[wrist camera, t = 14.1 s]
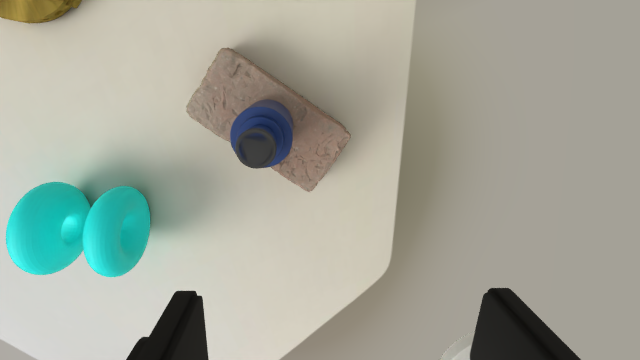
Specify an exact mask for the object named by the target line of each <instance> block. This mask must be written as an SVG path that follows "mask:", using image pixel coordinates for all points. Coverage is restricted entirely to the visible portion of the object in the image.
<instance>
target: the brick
mask: <svg viewBox="0 0 640 360" xmlns="http://www.w3.org/2000/svg"><path fill="white" fill-rule="evenodd" d="M267 99H268V100H274V101H277V102H279V103H281V104H282V105H284V106H285V107H286V108H287V109H288V111H289V112H290V114H291V116H292V119H293V141H292V147H291V149H290V152H289V153H288V155H287V156H286V158H285V159H284V160H282V161H281V162H280V163H278V164H276V165H274V166H271V167H272V168H273V169H274V170H275V171H278V172H279V173H280V174H281V175H282V176H284V177H285V178H287V179H288V180H290V181H291V182H293V183H295V184H296V185H298V186H300V187H301V188H302V189H304V190H306V191H308V192H310V191H312V190H313V189H314V188H315V186H316V185H317V183H318V181H320V180H321V179H322V178H323V177H324V175H325V174H326V173H327V171H328V170H329V169H330V167H331V166H332V164H333V163H334V161H335V160H336V158H337V157H338V156H339V154H340V153H341V151H342V150H343V148H344V147H345V145H346V144H347V142H348V140H349V139H350V137H351V135H350V134H349V132H348V131H347V130H346V128H345V127H344V126H343V125H342V124H340V123H339V122H337V121H335V120H334V119H333V118H332V117H330V116H329V115H327V114H325V113H324V112H322V111H321V110H320V109H319V108H318V107H316V106H314V105H313V104H311V103H310V102H309V101H308V100H306V99H304V98H303V97H302V96H300V95H298V94H297V93H296V92H294V91H292V90H291V89H290V88H288V87H287V86H286V85H284V84H283V83H281V82H280V81H278V80H277V79H276V78H274V77H273V76H271V75H269V74H268V73H266V72H265V71H264V70H262V69H261V68H259V67H258V66H256V65H255V64H254V63H252V62H251V61H250V60H248V59H247V58H245V57H243V56H242V55H240V54H239V53H237V52H235V51H234V50H232V49H230V48H222V49H221V50H220V51H219V52H218V54H217V56H216V58H215V60H214V61H213V63H212V65H211V66H210V67H209V68H208V70H207V75H206V76H205V77H204V78H203V80H202V83H201V85H200V87H199V88H198V89H197V90H196V91H195V93H194V95H193V96H192V98H191V99H190V101H189V103H188V105H187V110H186V112H187V113H188V114H189V116H190V117H191V118H192V119H194V120H195V121H197V122H199V123H200V124H202V125H203V126H204V127H205V128H207V129H209V130H210V131H212V132H213V133H215V134H216V135H218V136H219V137H221V138H223V139H225V140H227V141H229V142H231V141H230V131H231V127H232V124H233V122H234V120H235V119H236V117H237V116H238V115H239V114H240V113H241V112H243V111H244V110H245V109H247V108H248V107H249V106H251V105H252V104H254V103H255V102H257V101H260V100H267Z"/></svg>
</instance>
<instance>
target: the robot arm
mask: <svg viewBox="0 0 640 360" xmlns="http://www.w3.org/2000/svg"><path fill="white" fill-rule="evenodd" d="M126 360H208V351H207V340H206V330H205V320H204V309H203V299H202V296H197V293H196V291H176V292H175V293H174V295H173V297H172V298H171V300H170V302H169V304H168V305H167V307H166V309H165V310H164V312H163V314H162V316H161V317H160V319H159V321H158V322H157V324H156V326H155V328H154V329H153V331H152V333H151V334H150V336H149V337H142V338H141V339H139V341H138V342H137V343H136V345H135V346H134V348H133V350H132V351H131V353H130V354H129V356H128V358H127V359H126ZM470 360H580V358H579V357H578V356H577V355H576V354H575V353H574V352H573V351H572V350H571V349H570V348H569V347H568V346H567V345H566V344H565V343H564V342H562V340H561V339H560V338H559V337H558V336H557V335H556V334H555V333H554V332H553V331H552V330H551V329H550V328H549V327H548V326H546V324H545V323H544V322H542V320H541V319H540V318H539V317H538V316H537V315H536V314H535V313H534V312H533V311H532V310H531V309H530V308H529V307H528V306H527V305H526V304H525V303H524V302H523V301H522V300H521V299H520V298H519V297H518V296H517V295H516V294H515V293H514V292H513V291H512V290H510V289H509V288H491V289H489V290H488V292H487V293H485V294H484V296H483V299H482V304H481V308H480V312H479V316H478V321H477V325H476V330H475V333H474V338H473V342H472V346H471V351H470Z"/></svg>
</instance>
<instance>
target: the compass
mask: <svg viewBox="0 0 640 360" xmlns="http://www.w3.org/2000/svg"><path fill="white" fill-rule="evenodd" d="M81 1H82V0H0V17H1V18H5V19H9V20H14V21H19V22H25V23H43V22H48V21H51V20H54V19H56V18H58V17H60V16H62V15H63V14H64V13H66V12H67V11H68V10H69V9H70V8H71V7H73V8H77V7H78V6H79V4H80V3H81Z"/></svg>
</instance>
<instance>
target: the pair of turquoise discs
mask: <svg viewBox="0 0 640 360" xmlns="http://www.w3.org/2000/svg"><path fill="white" fill-rule="evenodd" d="M149 231H150V211H149V206H148V203H147V201H146V199H145V197H144V196H143V194H142V193H141V192H140V191H138V190H137V189H135V188H133V187H129V186H119V187H115V188H112V189H110V190H108V191H107V192H105V193H104V194H102V195H101V196H100V197H99V198H98V199H97V201H96V202H95V203H94V204H93V206H92V208H91V207H90V204H89V202H88V200H87V198H86V197H85V195H84V194H83V193H82V192H81V191H80V190H79V189H77V188H76V187H74V186H72V185H70V184H67V183H63V182H50V183H45V184H42V185H40V186H37V187H35V188H33V189H32V190H30V191H29V192H28V193H27V194H25V195H24V196H23V197H22V198H21V199H20V201H19V202H18V203H17V205H16V206H15V208H14V209H13V211H12V213H11V216H10V218H9V221H8V225H7V230H6V244H7V249H8V252H9V255H10V257H11V259H12V260H13V262H14V263H15V264H16V265H17V266H18V267H19V268H21V269H22V270H24V271H25V272H28V273H31V274H36V275H46V274H52V273H55V272H58V271H60V270H62V269H64V268H65V267H67V266H69V265H70V264H71V263H72V262H73V261H75V259H76V258H77V257H78V256H79V255H80V254H81V252H82V251H83V250H84V254H85V257H86V260H87V262H88V264H89V265H90V267H91V268H92V269H93V270H94V271H95V272H97V273H98V274H100V275H102V276H106V277H117V276H121V275H123V274H125V273H127V272H129V271H130V270H131V269H132V268H133V267H134V266H135V265H136V264H137V263H138V261H139V260H140V258H141V257H142V255H143V252H144V250H145V248H146V245H147V241H148V237H149Z"/></svg>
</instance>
